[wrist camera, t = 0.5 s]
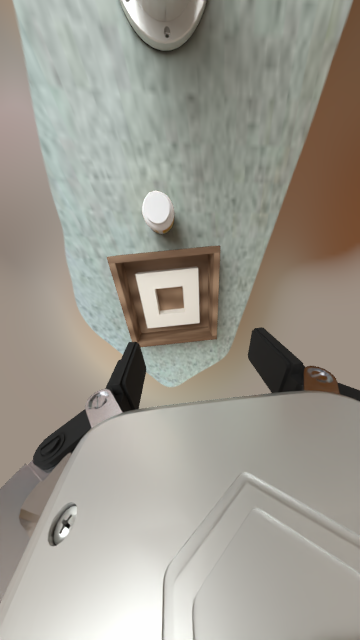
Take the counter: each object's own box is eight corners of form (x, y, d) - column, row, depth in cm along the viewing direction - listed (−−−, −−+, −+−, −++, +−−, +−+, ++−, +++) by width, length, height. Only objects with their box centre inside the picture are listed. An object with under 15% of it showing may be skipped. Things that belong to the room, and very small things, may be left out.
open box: (117, 255, 32) (106, 257, 27) (212, 246, 33) (220, 245, 27) (138, 335, 43) (134, 347, 37) (211, 327, 43) (216, 339, 37)
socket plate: (137, 272, 33) (135, 274, 31) (196, 266, 33) (198, 267, 31) (148, 323, 40) (147, 328, 38) (198, 318, 40) (199, 323, 38)
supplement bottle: (173, 203, 29) (174, 184, 20) (173, 234, 31) (174, 229, 22) (146, 202, 28) (136, 183, 20) (149, 233, 31) (140, 228, 22)
